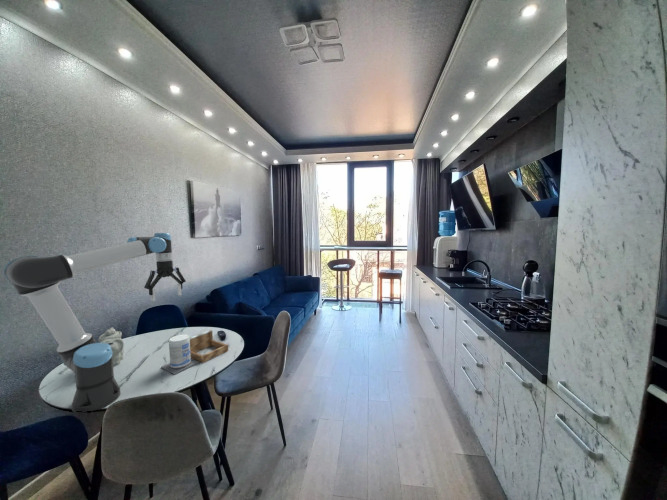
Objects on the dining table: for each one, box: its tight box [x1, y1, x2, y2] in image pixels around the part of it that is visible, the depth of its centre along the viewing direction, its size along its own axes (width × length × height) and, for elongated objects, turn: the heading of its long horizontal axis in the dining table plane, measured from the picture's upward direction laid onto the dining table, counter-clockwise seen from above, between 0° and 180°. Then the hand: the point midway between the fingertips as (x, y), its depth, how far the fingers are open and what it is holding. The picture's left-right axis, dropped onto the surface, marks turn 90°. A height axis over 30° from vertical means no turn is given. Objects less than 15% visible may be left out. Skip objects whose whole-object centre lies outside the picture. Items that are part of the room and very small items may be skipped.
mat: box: [160, 358, 200, 376], centre depth 135 cm, size 13×13×1 cm
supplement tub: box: [168, 333, 192, 368], centre depth 135 cm, size 10×10×15 cm
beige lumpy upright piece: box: [98, 327, 125, 367], centre depth 137 cm, size 16×15×19 cm
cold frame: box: [189, 329, 229, 364], centre depth 148 cm, size 16×17×10 cm
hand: (167, 297), depth 142 cm, fingers open, 13 cm apart
